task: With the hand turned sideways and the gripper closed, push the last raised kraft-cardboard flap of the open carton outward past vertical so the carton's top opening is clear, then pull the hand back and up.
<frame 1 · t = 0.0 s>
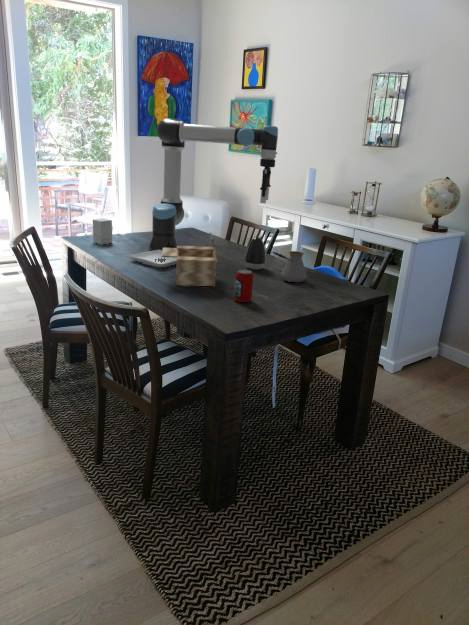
hand: (264, 201, 259), 28 cm above the table, tool pointing down, fingers open, 13 cm apart
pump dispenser: (254, 268, 241), on the table
carton flap: (213, 244, 209), point 16 cm above the table, hinge at 72.0°
coffee pot: (285, 282, 222), on the table
salad plate: (159, 263, 240), on the table
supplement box: (102, 243, 268), on the table
carton: (195, 281, 214), on the table
beverage can: (242, 301, 194), on the table
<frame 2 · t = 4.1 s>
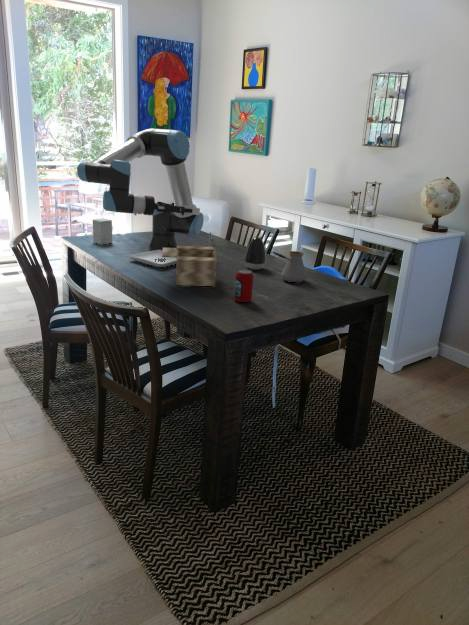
hand: (194, 210, 207), 30 cm above the table, tool horizontal, fingers open, 13 cm apart
nothing on the table moved.
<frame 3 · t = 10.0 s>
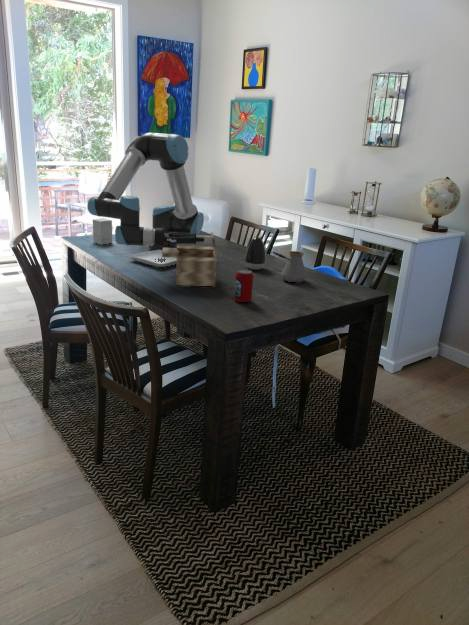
hand: (211, 239, 207), 19 cm above the table, tool horizontal, fingers closed
carton flap: (214, 244, 209), point 16 cm above the table, hinge at 76.3°, touching gripper
everything else where it was.
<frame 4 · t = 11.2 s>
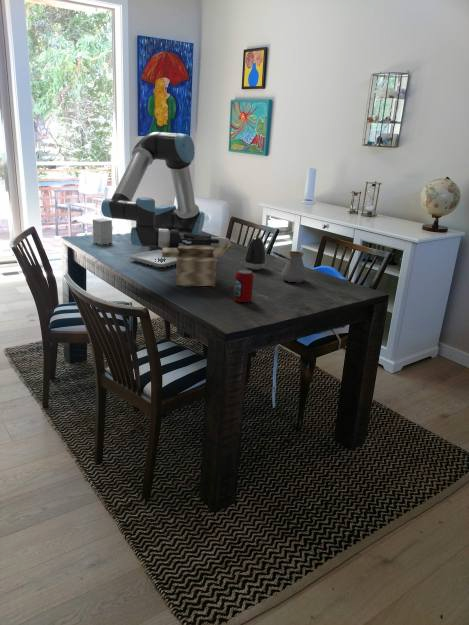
hand: (226, 241, 208), 18 cm above the table, tool horizontal, fingers closed
carton flap: (222, 248, 210), point 15 cm above the table, hinge at 135.0°, touching gripper
everything else where it was.
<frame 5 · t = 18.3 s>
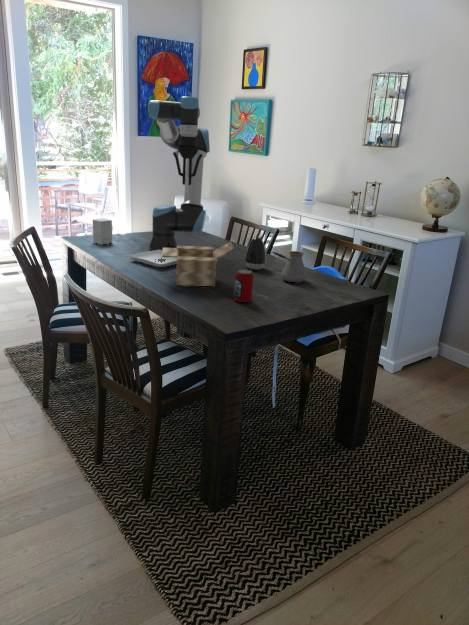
hand: (186, 192, 222), 34 cm above the table, tool pointing down, fingers closed
carton flap: (224, 250, 210), point 14 cm above the table, hinge at 148.6°
everything else where it was.
at the end: carton flap at +149° (first picture: +72°) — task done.
